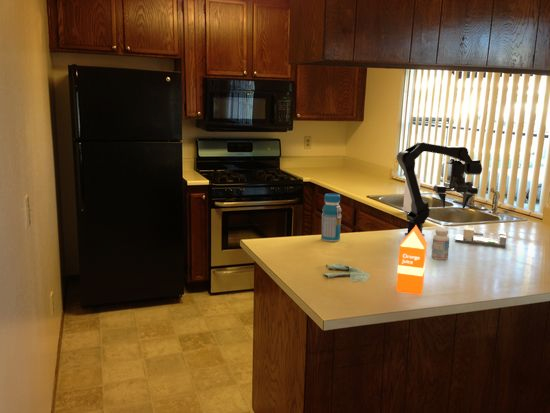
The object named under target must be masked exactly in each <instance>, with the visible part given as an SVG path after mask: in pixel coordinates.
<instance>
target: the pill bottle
mask: <svg viewBox="0 0 550 413" xmlns="http://www.w3.org/2000/svg"><path fill="white" fill-rule="evenodd" d="M434 231H435V234H434V235H433V237H432V247H431V250H432V251H431V257H432V258H433V259H435V260H438V261H439V260H440V261H442V260H443V261H445V260H447V259H448V258H449V251H450V250H449V248H450V237H449V235H448V234H449V230H448V229H447V228H436V229H435V230H434Z"/></svg>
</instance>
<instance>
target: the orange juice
mask: <svg viewBox="0 0 550 413" xmlns="http://www.w3.org/2000/svg"><path fill="white" fill-rule="evenodd" d="M422 234H423V233H422ZM422 234H421V232H420V231H419V229H418V227H417V226H415V227H414V228H413V229H412V231H411V232H410V233H409V234H408V235H406V236H405V237H404V238H403V239H402V240H401V242H400V245H399V246H398V247H399V249H398V262H397V263H398V264H397V277H396V292H399V293H404V294H405V293H406V294H407V293H408V294H413V295H420V296H421V295H422V293H423V292H422V291H423V288H424V279H425V271H426V270H425V268H426V256H427V245H428V243H427V241H426V238H425V237H424V235H423V236H422Z"/></svg>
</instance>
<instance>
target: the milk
mask: <svg viewBox="0 0 550 413" xmlns="http://www.w3.org/2000/svg"><path fill="white" fill-rule="evenodd" d="M415 175H416V178H417V182H418V186H419V190H420V191H421V181H422V180H421V178H420V177H419V176H418V174H416V173H415ZM403 193H404V194H403V205H402V206H403V207H402V212H403V211H407V212H411V203H412V199H411V196H410V192H409V188H408V185H407V181H406V178H405V179H404V192H403Z"/></svg>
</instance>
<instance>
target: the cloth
mask: <svg viewBox="0 0 550 413" xmlns="http://www.w3.org/2000/svg"><path fill="white" fill-rule="evenodd" d="M325 267H327V270H328V271H331V270H332V271H344V272H330V273H329V272H327V273H326V272H325V273H323V276H325V277H326V278H327V279H332V278H342V277H343V278H345V277H349V281H350V282H352V283H353V282H354V283H357V282H360V283H366V282H367V281H368V280H369V279H371V275H370V274H369V273H367V272H365V271H363V270H362V269H360V268H358V267H353V266H350V265H347V264H345V263H338V262H334V263H333V264H331V265H330V264H326V265H325Z"/></svg>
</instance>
